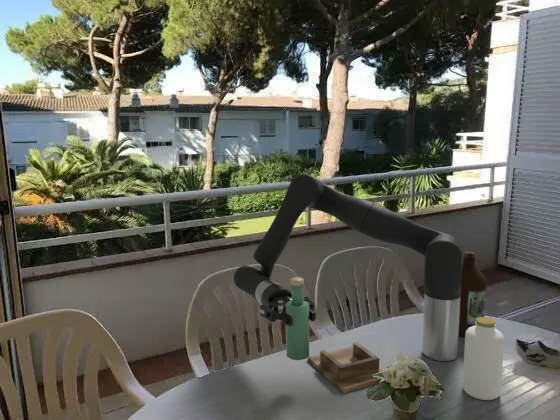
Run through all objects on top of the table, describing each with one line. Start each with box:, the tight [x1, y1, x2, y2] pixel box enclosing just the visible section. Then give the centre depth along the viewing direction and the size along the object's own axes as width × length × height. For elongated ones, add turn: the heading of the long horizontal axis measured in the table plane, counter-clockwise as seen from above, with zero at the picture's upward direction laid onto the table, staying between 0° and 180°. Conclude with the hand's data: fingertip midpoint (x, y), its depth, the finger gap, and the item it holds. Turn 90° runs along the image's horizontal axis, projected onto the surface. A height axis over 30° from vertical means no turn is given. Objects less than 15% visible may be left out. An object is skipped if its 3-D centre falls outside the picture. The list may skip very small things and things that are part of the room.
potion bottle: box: [462, 316, 505, 401], centre depth 110 cm, size 8×8×18 cm
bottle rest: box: [307, 342, 384, 394], centre depth 122 cm, size 18×14×4 cm
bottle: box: [285, 276, 310, 361], centre depth 114 cm, size 6×6×19 cm
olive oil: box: [458, 250, 488, 338], centre depth 143 cm, size 11×11×25 cm
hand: (302, 319), depth 111 cm, fingers closed on bottle, 5 cm apart
